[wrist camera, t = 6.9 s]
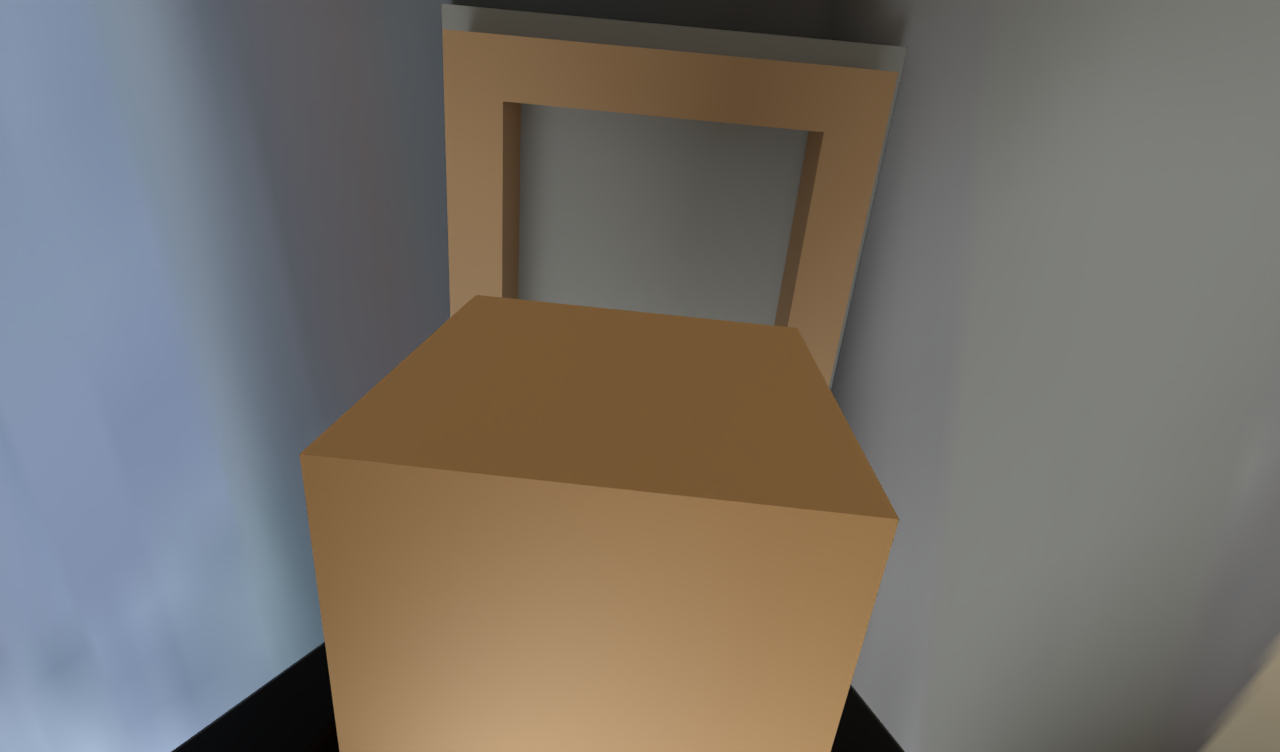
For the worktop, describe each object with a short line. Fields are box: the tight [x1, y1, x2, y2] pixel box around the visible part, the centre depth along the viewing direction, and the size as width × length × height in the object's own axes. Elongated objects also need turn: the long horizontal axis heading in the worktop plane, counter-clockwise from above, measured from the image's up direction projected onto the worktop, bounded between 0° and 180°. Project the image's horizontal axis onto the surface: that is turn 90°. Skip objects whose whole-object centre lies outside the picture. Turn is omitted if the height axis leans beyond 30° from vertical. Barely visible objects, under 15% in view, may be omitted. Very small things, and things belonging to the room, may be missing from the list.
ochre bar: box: [300, 295, 899, 752], centre depth 8 cm, size 8×4×4 cm, turn 175°
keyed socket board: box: [442, 4, 908, 390], centre depth 16 cm, size 16×10×2 cm, turn 175°
